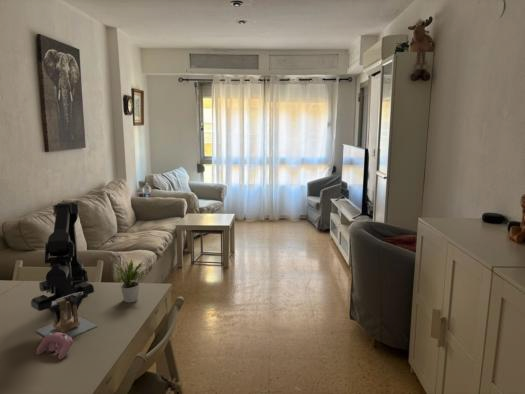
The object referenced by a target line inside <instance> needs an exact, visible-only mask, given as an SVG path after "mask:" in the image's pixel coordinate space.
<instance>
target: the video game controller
mask: <svg viewBox="0 0 525 394" xmlns="http://www.w3.org/2000/svg"><path fill="white" fill-rule="evenodd" d="M73 342H74V340H73V337H72V338H71V337H69V336H68V335H66V334H64V333H60V332H55V333H50V334H47V336H45V337H44V336H43V339H42V341H40V344H39V345H38V346H37V348H36V355H37V356H39V355H41V354H43V353H44V352H45V351H46V350H47V348H48V350H49V352H57V353H58V360H63V359H64V358H65V357H66V356H67V355H68V352H69V351H70V348H72V345H73ZM57 343H58V344H59V345H58V344H57Z"/></svg>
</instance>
